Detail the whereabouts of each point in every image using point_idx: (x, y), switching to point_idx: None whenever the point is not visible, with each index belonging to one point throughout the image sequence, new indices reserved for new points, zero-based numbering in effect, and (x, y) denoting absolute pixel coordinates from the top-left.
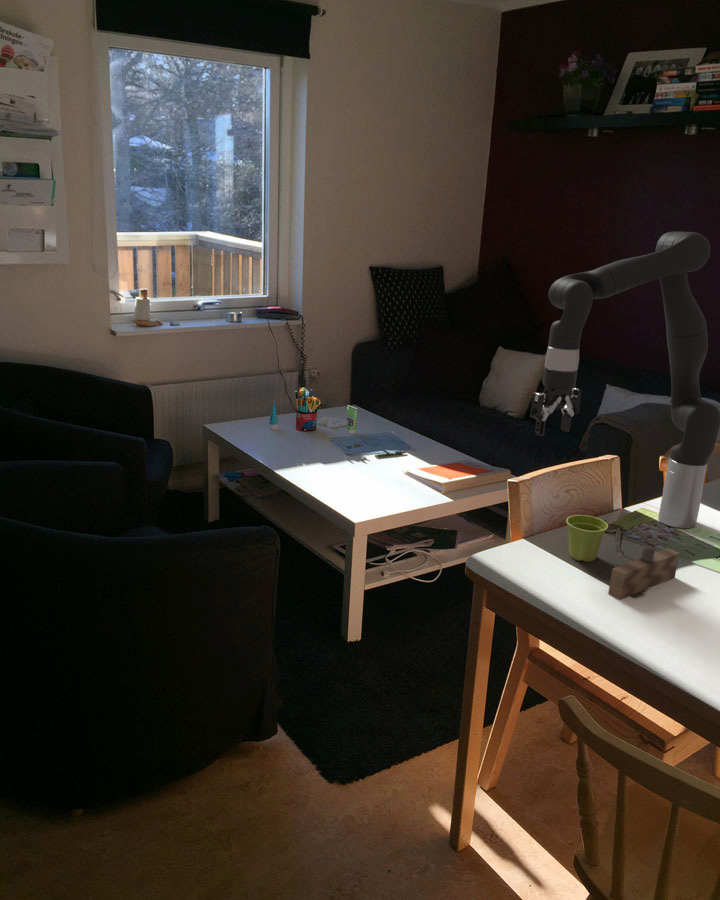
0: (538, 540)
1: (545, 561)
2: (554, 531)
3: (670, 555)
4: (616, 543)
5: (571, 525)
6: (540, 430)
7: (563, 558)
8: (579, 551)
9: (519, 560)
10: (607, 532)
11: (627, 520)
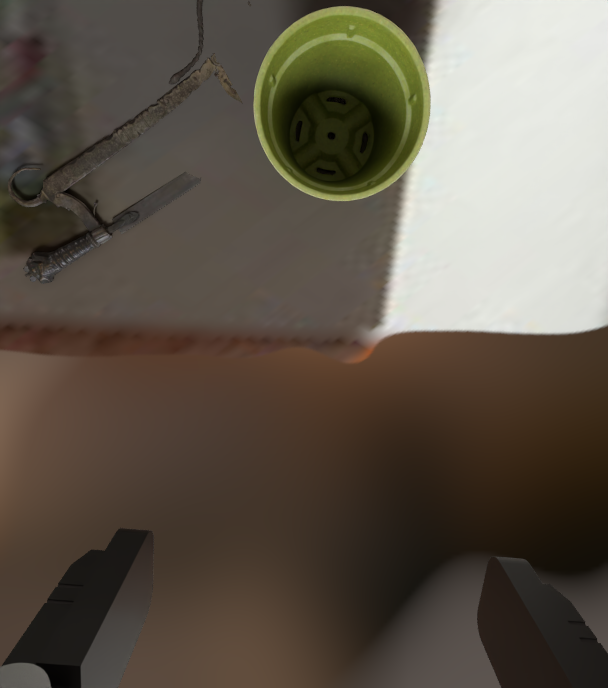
0: (350, 302)
1: (463, 185)
2: (246, 319)
3: None
4: (141, 131)
5: (422, 132)
6: (565, 614)
7: None
8: (383, 111)
9: (524, 238)
10: (94, 208)
11: None
